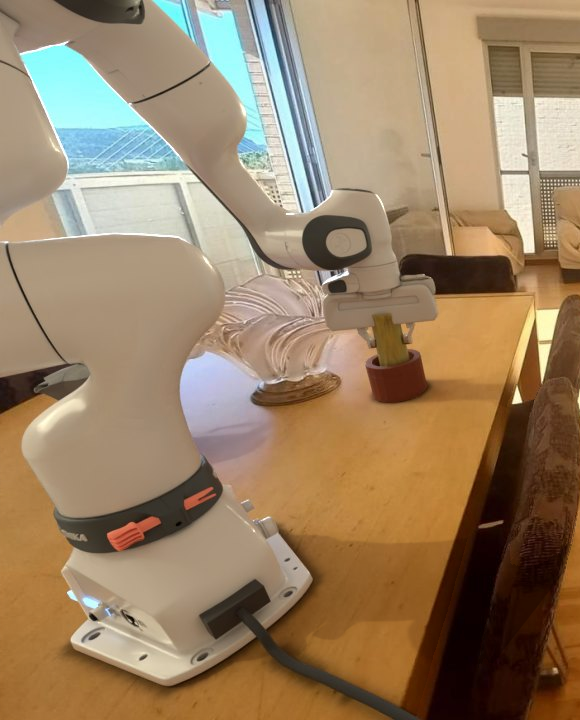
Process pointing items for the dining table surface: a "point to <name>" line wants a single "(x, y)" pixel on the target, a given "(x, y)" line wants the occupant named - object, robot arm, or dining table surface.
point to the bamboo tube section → (389, 341)
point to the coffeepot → (64, 381)
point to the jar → (397, 378)
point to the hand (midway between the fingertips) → (391, 345)
